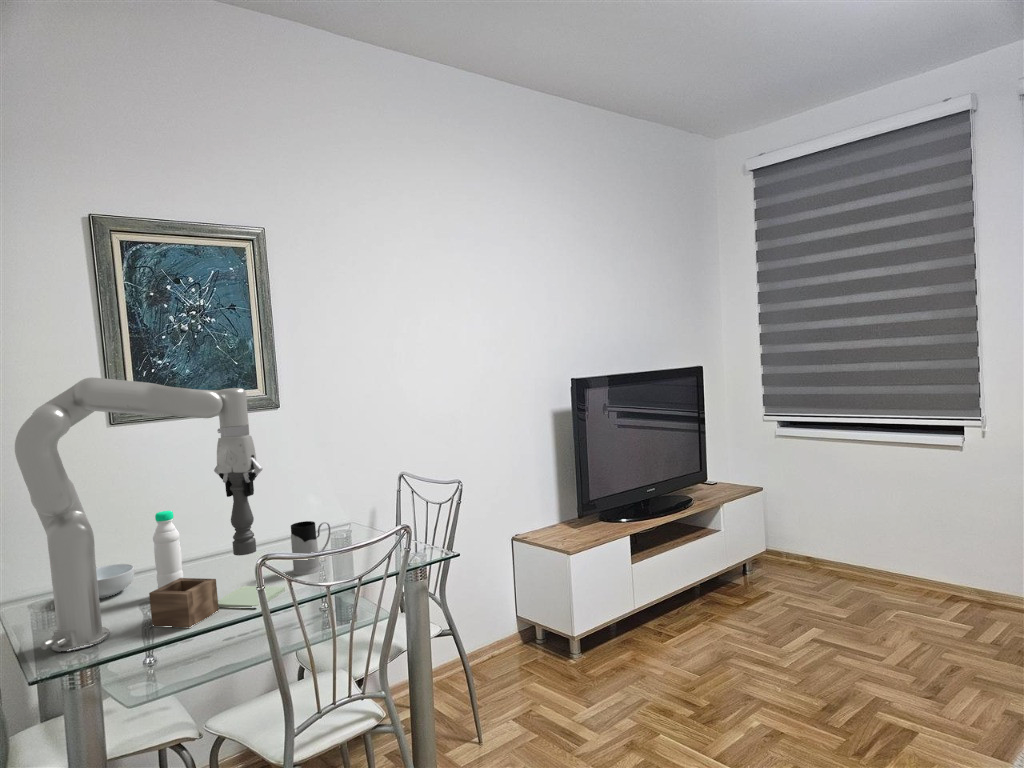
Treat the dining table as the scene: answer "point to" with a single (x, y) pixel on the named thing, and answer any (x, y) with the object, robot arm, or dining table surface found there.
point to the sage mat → (248, 596)
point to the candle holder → (241, 517)
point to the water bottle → (167, 549)
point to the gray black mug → (306, 546)
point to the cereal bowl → (113, 578)
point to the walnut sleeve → (183, 602)
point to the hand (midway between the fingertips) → (240, 495)
